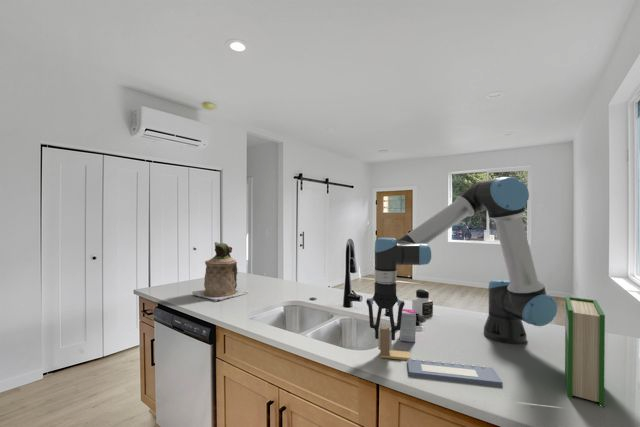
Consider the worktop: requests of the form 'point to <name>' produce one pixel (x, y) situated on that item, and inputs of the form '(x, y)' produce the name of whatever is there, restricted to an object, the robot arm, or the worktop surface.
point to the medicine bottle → (422, 303)
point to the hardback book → (584, 349)
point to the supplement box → (408, 326)
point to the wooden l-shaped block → (385, 346)
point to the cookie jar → (220, 276)
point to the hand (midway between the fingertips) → (384, 348)
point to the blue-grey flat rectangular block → (454, 372)
